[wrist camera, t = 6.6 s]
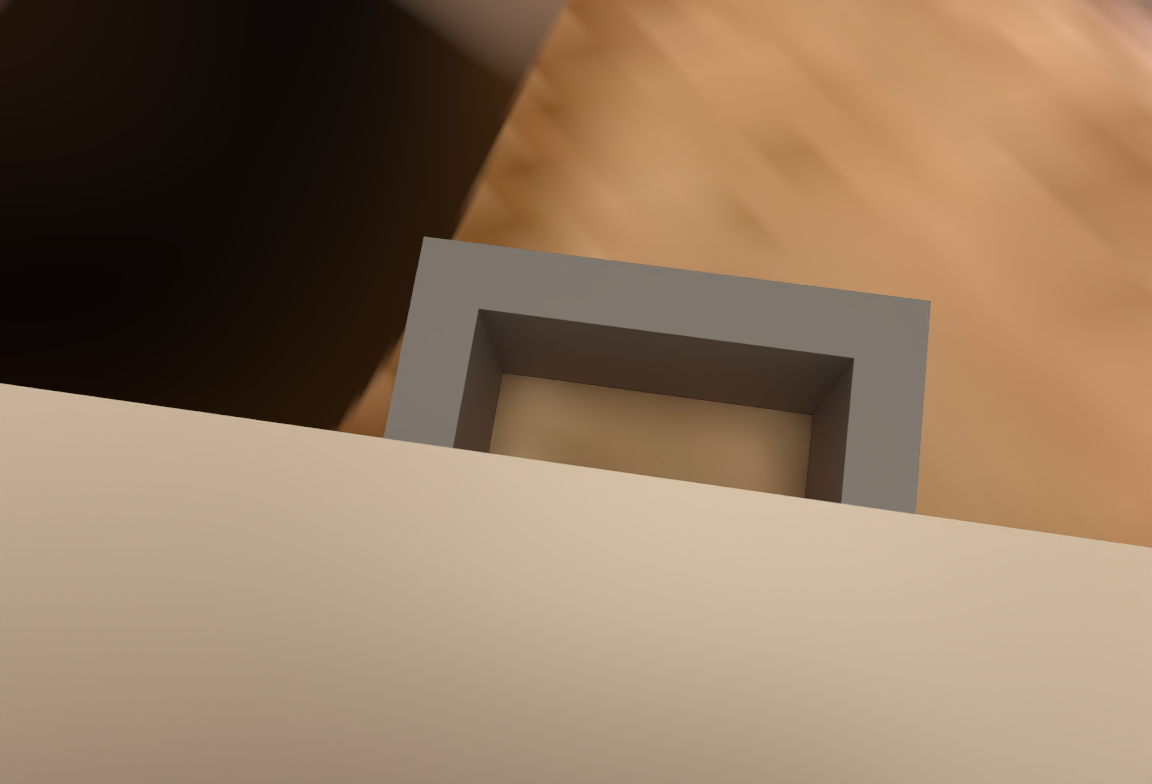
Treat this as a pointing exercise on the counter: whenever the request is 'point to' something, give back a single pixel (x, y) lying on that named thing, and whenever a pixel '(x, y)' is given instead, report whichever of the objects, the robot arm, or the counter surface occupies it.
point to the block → (526, 621)
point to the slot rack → (668, 354)
